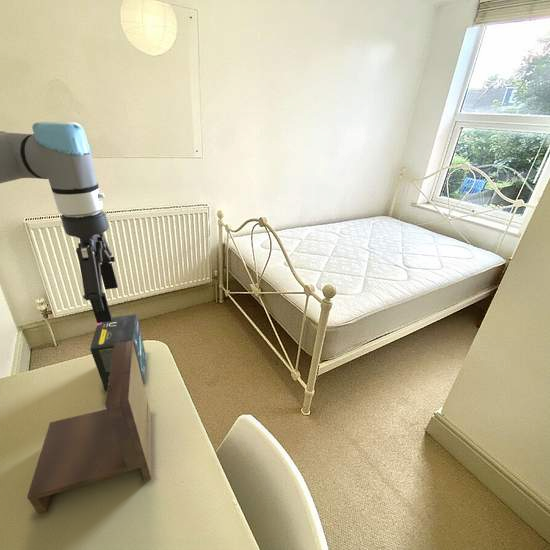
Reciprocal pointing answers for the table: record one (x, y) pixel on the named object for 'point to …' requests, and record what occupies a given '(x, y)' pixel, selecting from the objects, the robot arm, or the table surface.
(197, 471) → the table surface
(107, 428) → the wooden display stand
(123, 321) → the tampon box
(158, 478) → the table surface
